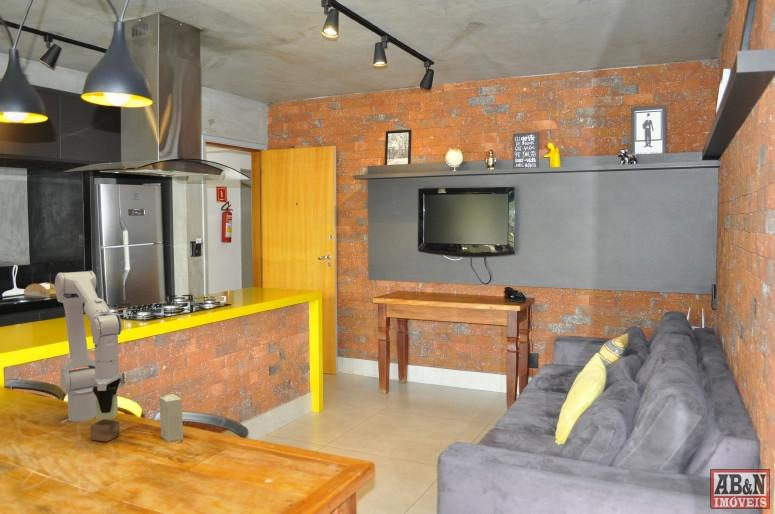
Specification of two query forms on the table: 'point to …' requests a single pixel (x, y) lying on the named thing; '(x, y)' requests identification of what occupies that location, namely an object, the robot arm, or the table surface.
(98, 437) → the walnut block
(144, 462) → the table surface
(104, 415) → the sage block
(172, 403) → the skincare box
